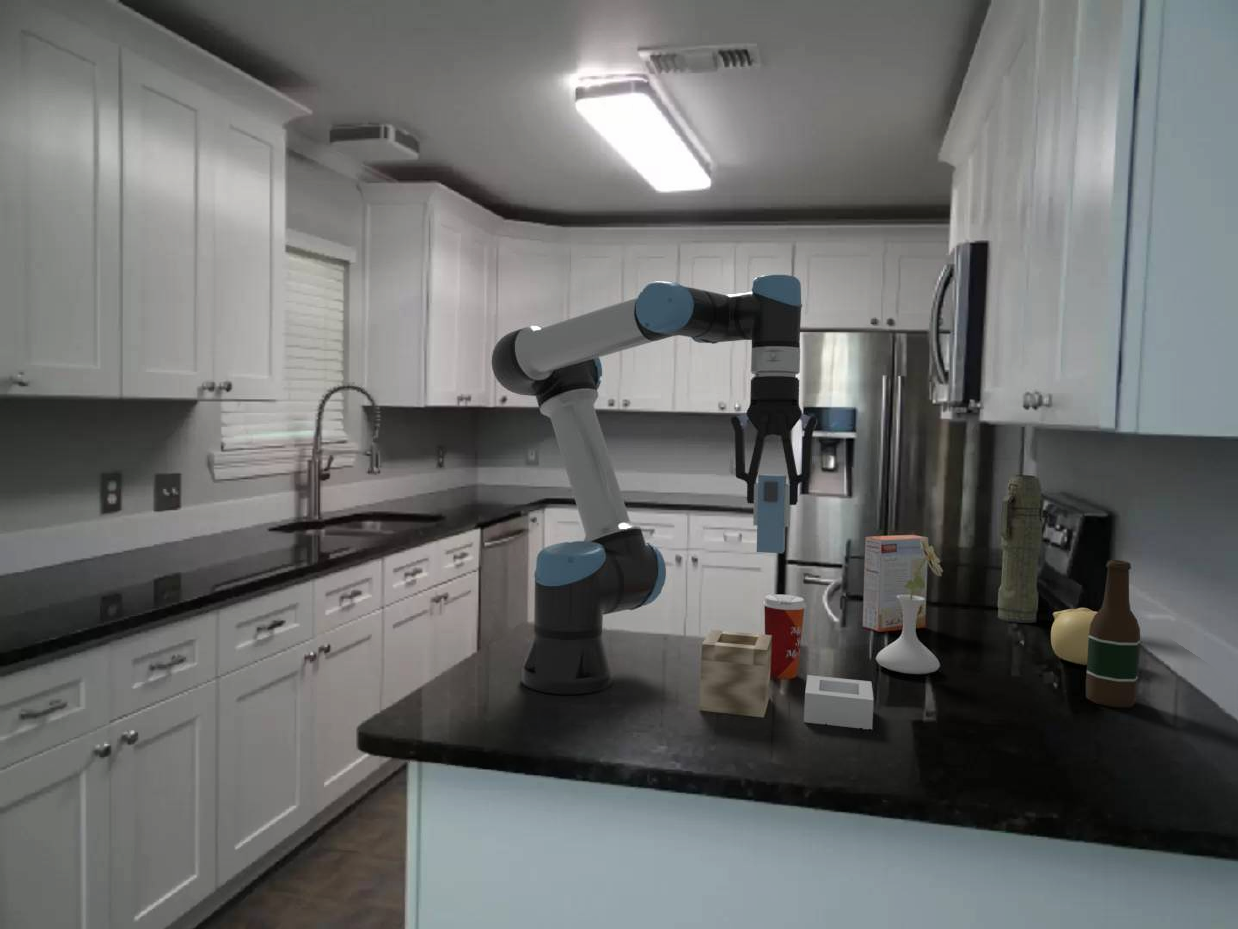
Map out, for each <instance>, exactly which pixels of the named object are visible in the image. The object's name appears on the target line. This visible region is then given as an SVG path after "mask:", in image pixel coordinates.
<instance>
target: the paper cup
mask: <svg viewBox="0 0 1238 929" xmlns="http://www.w3.org/2000/svg"><path fill="white" fill-rule="evenodd" d="M762 605H763V606H764V609H763V610H764V635H772V643H771V666H770V678H774V679H779V680H780V679H781V680H791V679H795V678H797V677H798V670H799V660H800V653H801V652H800V651H801V641H802V634H803V632H802V631H803V624H804V622H803V621H804V616H805V615H804V613H805V612H804V611H805V609H806V608H807V606H806V603H805V600H804V598H803V597H800V596H797V595H791V594H779V593H778V594H769V595H768V594H767V595H766V596H765V598H764V601H762Z"/></svg>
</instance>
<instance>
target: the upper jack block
mask: <svg viewBox="0 0 1238 929" xmlns="http://www.w3.org/2000/svg"><path fill="white" fill-rule="evenodd" d="M771 643H772V635H765V634H761V633H753V632H752V633H751V632H738V631H730V630H729V631H728V630H719V629H718V630H717V629H710V631H709V632H708V634H707V636H706V637H705V638H704V640H703V642H702V644H701V662H700V664H701V665H700V687H699V688H700V689H699V690H700V691H699V711H702V712H703V711H704V712H711V713H712V712H713V713H720V714H731V715H737V716H738V715H739V716H746V717H747V716H749V717H756V718H763V719H764V718H765V715H766V712H767V707H768V704H769V701H770V685H771V684H770V683H771V681H770V680H771V677H770V666H771Z"/></svg>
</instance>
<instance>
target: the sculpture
mask: <svg viewBox="0 0 1238 929" xmlns="http://www.w3.org/2000/svg"><path fill="white" fill-rule="evenodd" d="M1097 612H1098V611H1093V610H1091V609H1089V608H1087V607H1078V608H1069V609H1064V610H1060V611H1059V610H1058V611H1054V612H1053V613H1052V616H1053V618H1054V621H1053V623H1052V626H1051V630H1050V643H1051V646H1052V650H1053V652H1054V654H1055V656H1057V657H1058V658H1060V659H1061V660H1064V661H1067V662H1069V663H1073V664H1077V665H1083V666H1087V657H1088V640H1089V630H1090V624H1091V622H1092V620H1093V618H1094V616H1095V615H1096V613H1097Z"/></svg>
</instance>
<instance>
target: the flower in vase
mask: <svg viewBox="0 0 1238 929" xmlns="http://www.w3.org/2000/svg"><path fill="white" fill-rule="evenodd" d="M923 537H924V536H921V539H920V544H921V549H922V551H923V554H924V556H925V557H924V559H923V561H922V562H921V564H920V566H919V567H918V569H917V571H916V574H915V577H914V581H913V582H912V581H911V580H909V582H908V583H907V584H906V585H905V586H904V588H906V589H909V590H911V595H898V596H897V598H898V600H899V601H900V603H901V606H902V610H903V630H902V631H901V634H900V636H899V637H898V638H897V639H896V640H895V641H893V642H891V643H890V644H888V645H887V646H886V647H884V648H883V649H881V650H880V651H878V653H877V655H876V657H875V660H876V662H877V664H878V665H880V666H881V667H883V668H886V669H888V670H890V671H893V672H895V673H896V672H898V673H902V674H908V675H909V674H910V675H926V674H931V673H934V672H936V671H938V669H939V668H940V667H941V664H940V662H939V660H938V657H936V656H935V654H933V652H932V651H930V649H928V647H926V646H925V645H924V644H923V643H922V642H921V641H920V640H919V638H918V636H917V632H916V629H917V628H916V618H917V613H918V610H919V607H920V605H921V604H922V603H923V601H924V600H925V598H923V597H919V596H913V590H914V589H916V588H917V587H919V588H920V589H923V588H924V587H925V584H924V581H923V579H922V578H921V577H920V576H917V574H918V572H919V570H920V568H921V566H922V565H923V563H924V561H925V560H926V561H927V563H928V564H927V565H928V567H929V568H930V569H931V571H932V572H933V574H935V575H936V576H938V577H942V573H943V572H944V570H943V568H942V567H941V565H940V563H941V560H940V558H938V557H937V555H936V553H935V548H934V547H933V546H932V545H929V540H928V541H927V539H926V538H925V540H924V539H923ZM915 582H916V584H915Z"/></svg>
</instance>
